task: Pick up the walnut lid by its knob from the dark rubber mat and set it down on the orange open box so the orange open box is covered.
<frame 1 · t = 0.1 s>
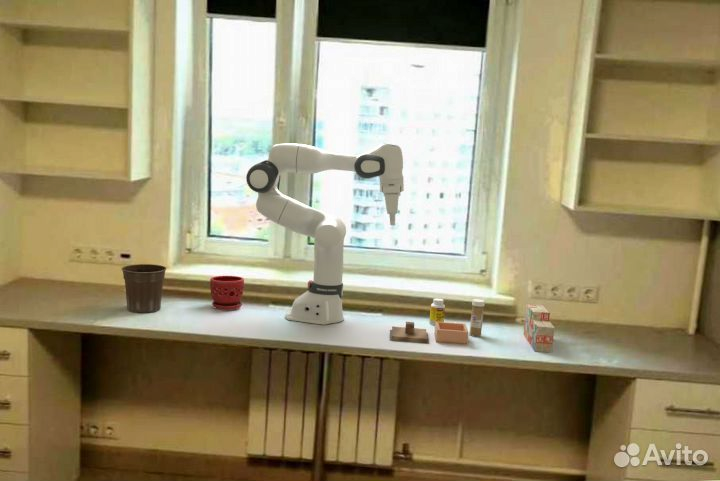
hand: (392, 223, 266), 39 cm above the worktop, tool pointing down, fingers open, 8 cm apart
plant pot 2: (226, 307, 279), on the worktop
lid: (409, 336, 255), resting on mat
mat: (409, 337, 255), on the worktop
supplement bottle: (436, 325, 274), on the worktop
plant pot: (143, 309, 269), on the worktop
red and white cartons: (536, 344, 259), on the worktop
sprinkles bottle: (475, 335, 264), on the worktop
orange open box: (450, 340, 255), on the worktop
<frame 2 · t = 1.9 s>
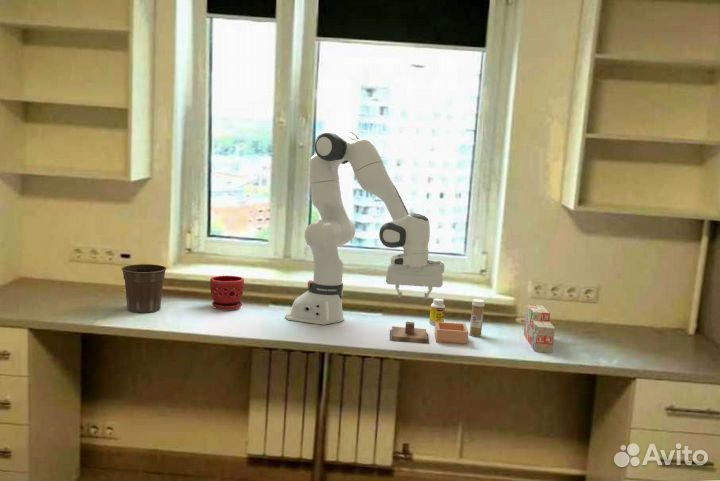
hand: (413, 297, 252), 15 cm above the worktop, tool pointing down, fingers open, 8 cm apart
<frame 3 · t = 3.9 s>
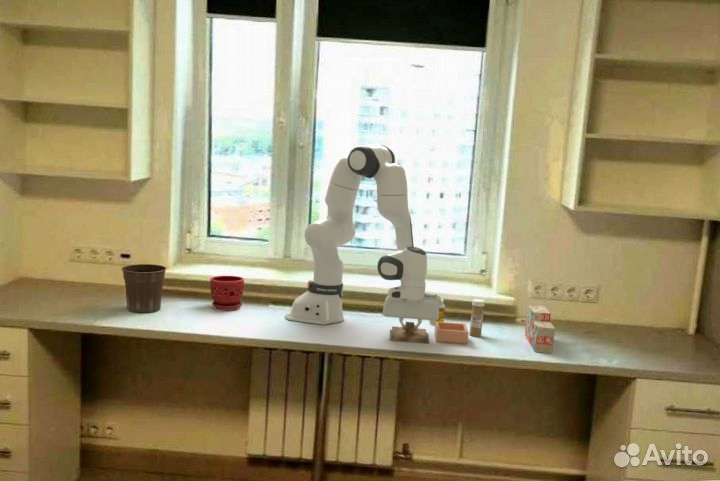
hand: (409, 330, 254), 3 cm above the worktop, tool pointing down, fingers closed on lid, 3 cm apart
lid: (409, 336, 255), resting on mat, touching gripper
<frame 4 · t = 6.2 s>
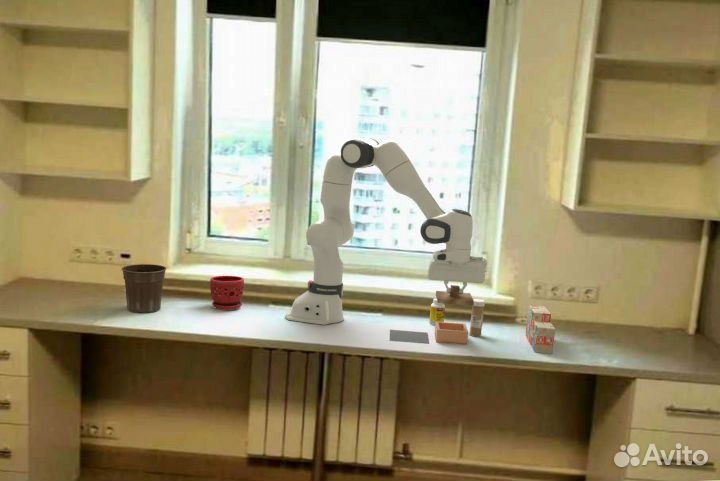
hand: (454, 293, 252), 17 cm above the worktop, tool pointing down, fingers closed on lid, 3 cm apart
lid: (454, 299, 253), point 15 cm above the worktop, touching gripper
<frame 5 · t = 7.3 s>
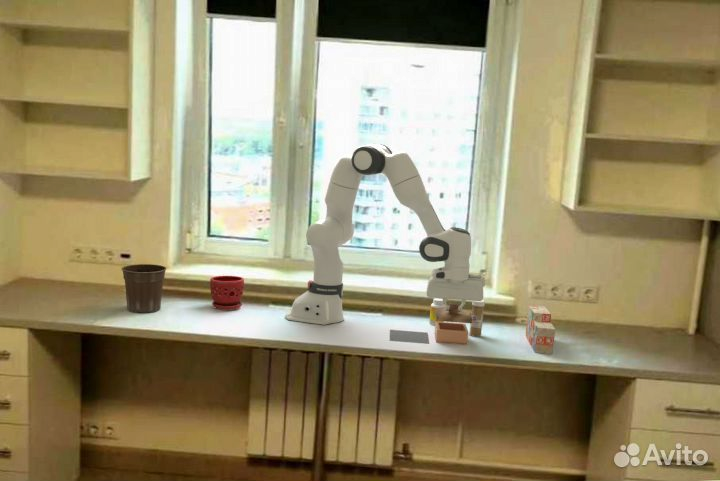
hand: (453, 311, 253), 11 cm above the worktop, tool pointing down, fingers closed on lid, 3 cm apart
lid: (452, 317, 254), point 8 cm above the worktop, touching gripper
when the fingers open (9 cm above the worktop, at t = 8.3 s): lid drops 1 cm, resting on orange open box.
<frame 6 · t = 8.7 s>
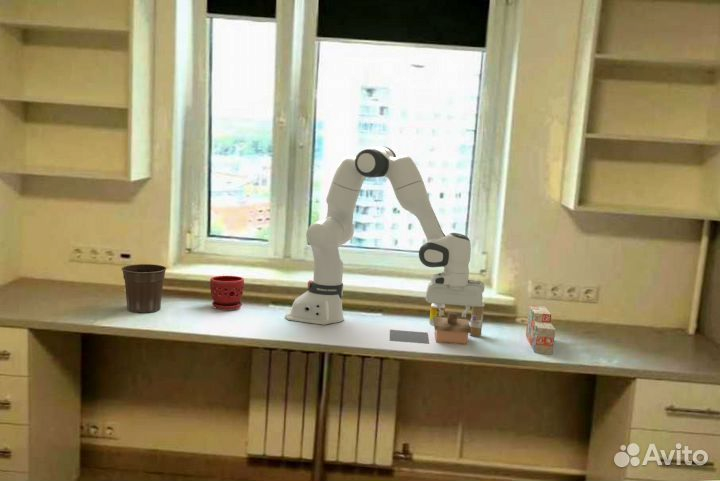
hand: (452, 316, 254), 9 cm above the worktop, tool pointing down, fingers open, 7 cm apart
lid: (451, 326, 254), point 5 cm above the worktop, touching orange open box
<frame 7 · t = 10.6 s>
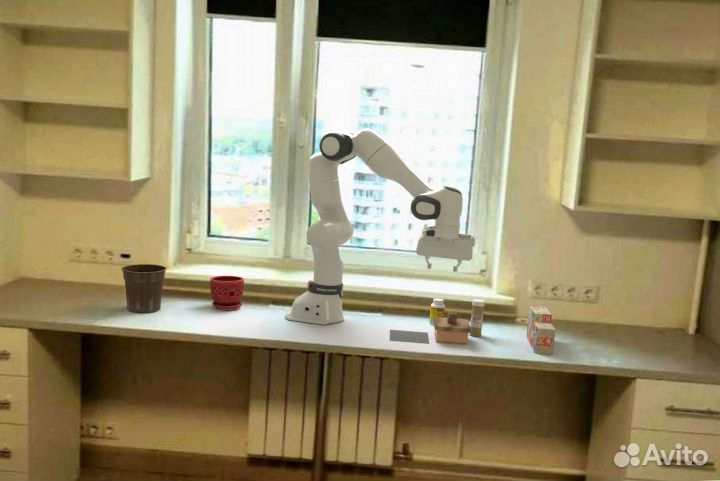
hand: (442, 269, 255), 25 cm above the worktop, tool pointing down, fingers open, 8 cm apart
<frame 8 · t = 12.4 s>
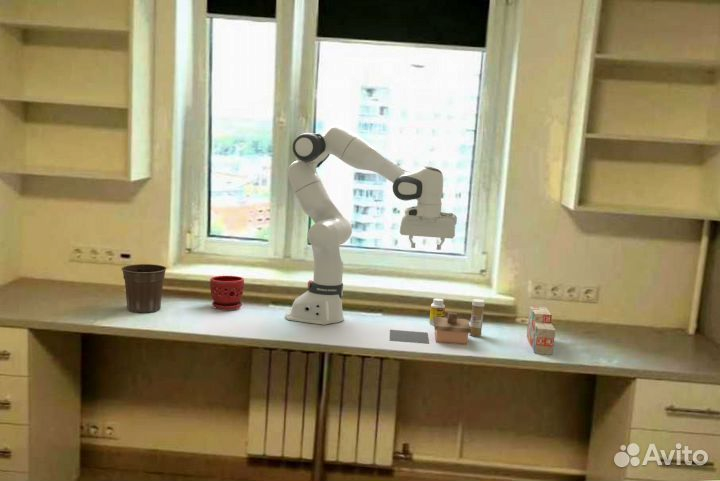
hand: (425, 248, 261), 31 cm above the worktop, tool pointing down, fingers open, 8 cm apart
at the end: lid 0.0 cm off-centre on the orange open box, point 5.0 cm above the orange open box's base; lid tilted 0°; the gripper is holding nothing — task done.
